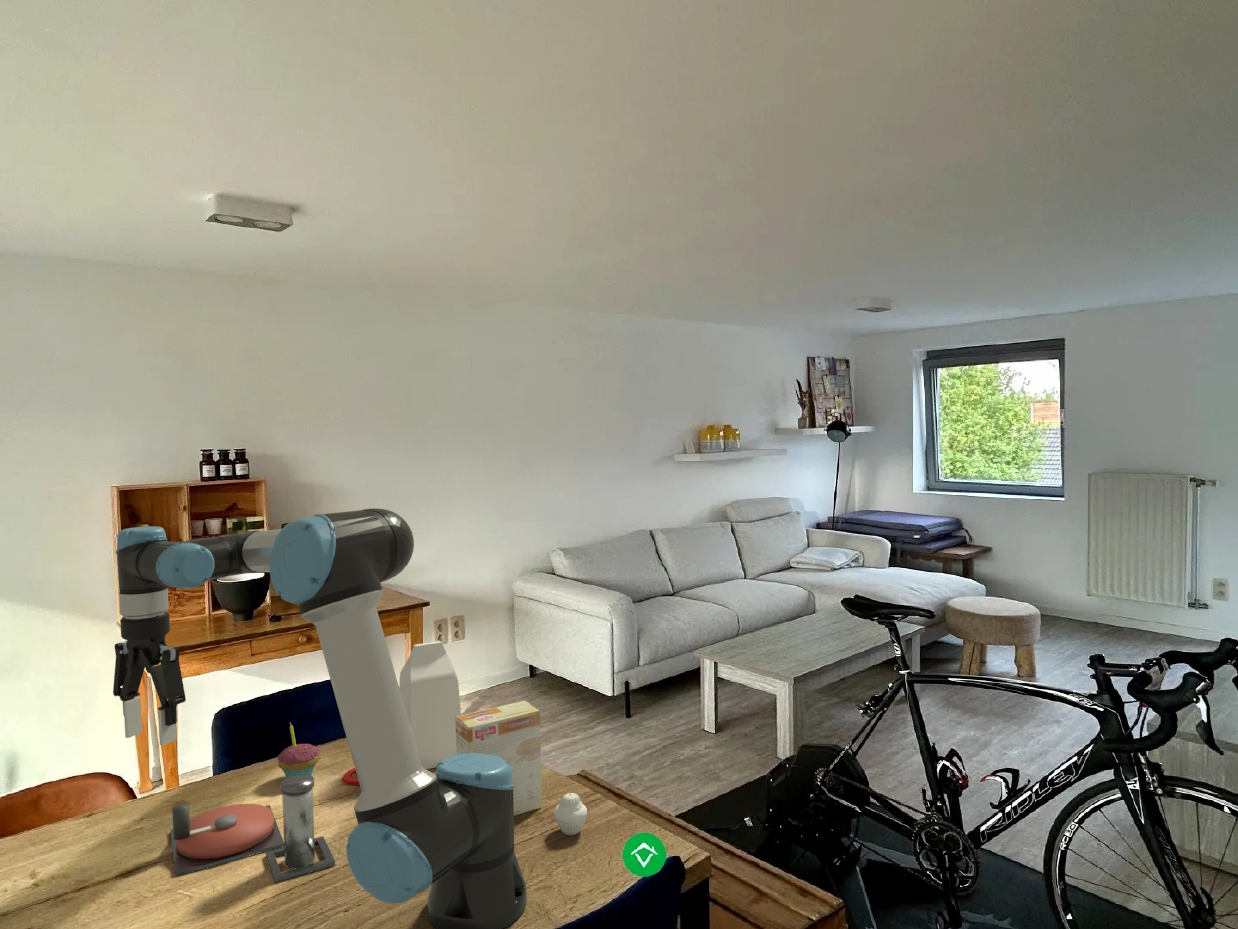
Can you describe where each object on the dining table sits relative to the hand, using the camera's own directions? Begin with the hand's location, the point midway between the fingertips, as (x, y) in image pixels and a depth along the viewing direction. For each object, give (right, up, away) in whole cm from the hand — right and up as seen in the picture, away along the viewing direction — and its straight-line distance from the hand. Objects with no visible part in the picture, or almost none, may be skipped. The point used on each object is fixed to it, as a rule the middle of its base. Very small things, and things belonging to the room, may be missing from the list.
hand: (150, 738), depth 142 cm
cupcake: (+16, -18, +27) cm, 36 cm away
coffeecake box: (+61, -18, +11) cm, 65 cm away
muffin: (+75, -18, +3) cm, 78 cm away
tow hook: (+30, -18, +27) cm, 44 cm away
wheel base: (+13, -19, +2) cm, 23 cm away
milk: (+42, -17, +37) cm, 58 cm away
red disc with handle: (+13, -19, +2) cm, 23 cm away
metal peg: (+29, -19, -5) cm, 35 cm away
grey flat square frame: (+29, -19, -5) cm, 35 cm away
